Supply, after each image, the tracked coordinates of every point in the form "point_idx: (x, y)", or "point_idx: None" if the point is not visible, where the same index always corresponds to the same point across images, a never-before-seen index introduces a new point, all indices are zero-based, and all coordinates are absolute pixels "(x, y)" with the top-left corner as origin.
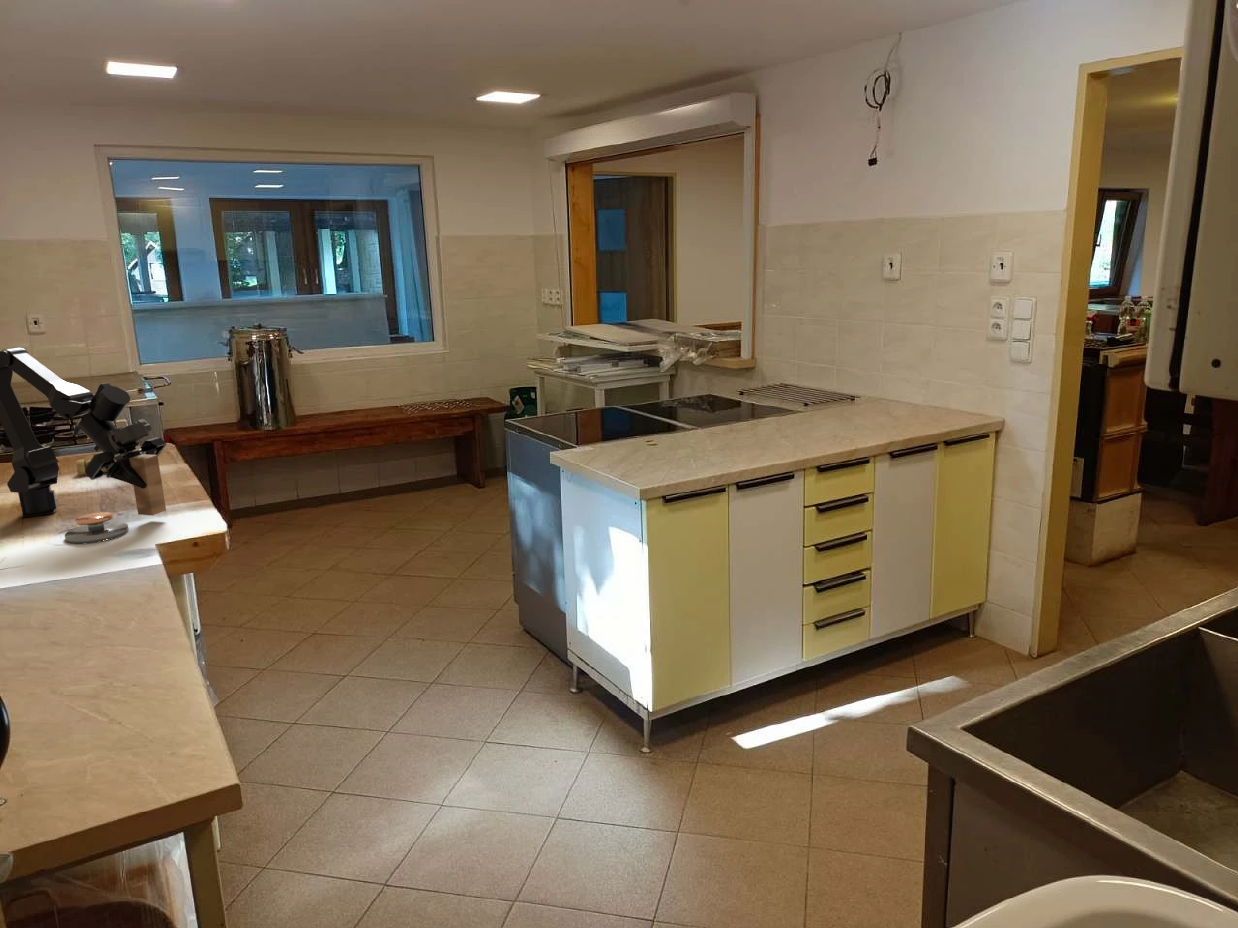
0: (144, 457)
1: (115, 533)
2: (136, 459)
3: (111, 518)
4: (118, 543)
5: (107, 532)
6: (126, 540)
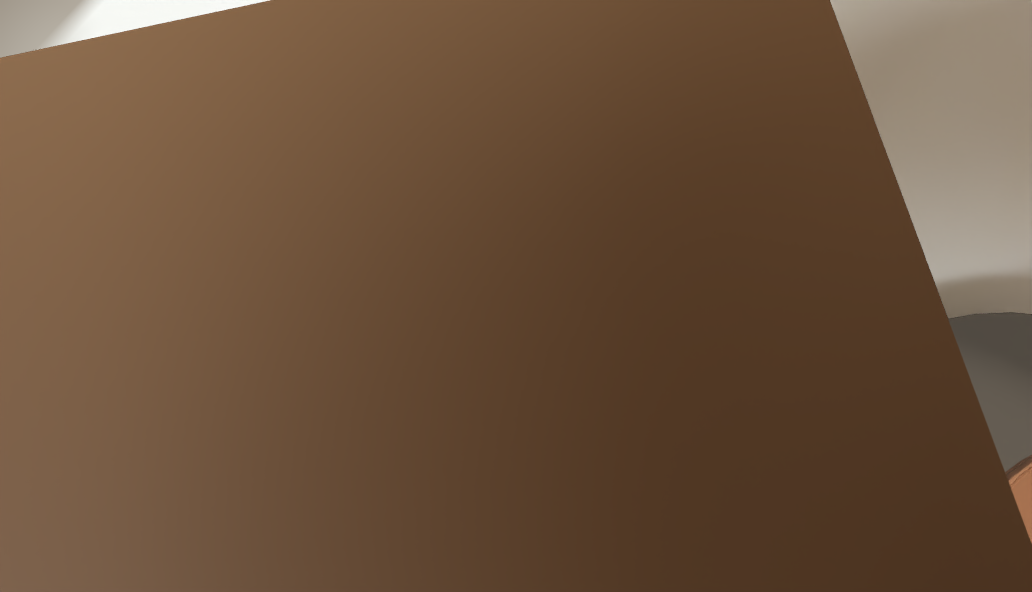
0: (412, 394)
1: (971, 316)
2: (1001, 543)
3: (1006, 473)
4: (1009, 137)
5: (1010, 420)
6: (927, 152)
